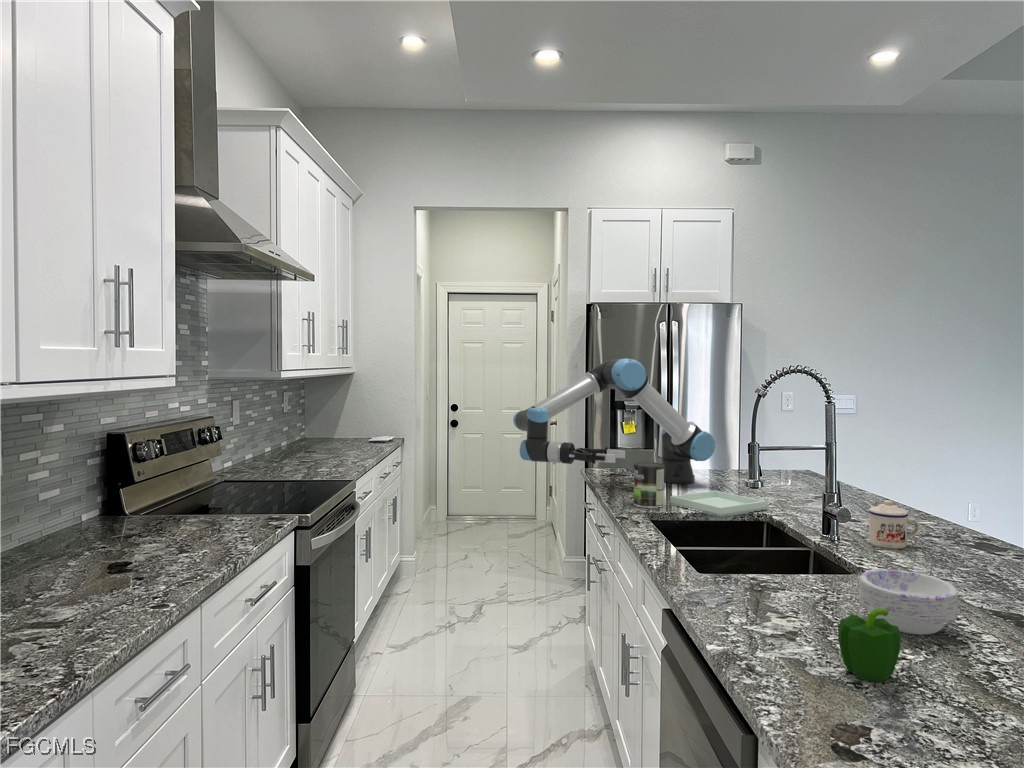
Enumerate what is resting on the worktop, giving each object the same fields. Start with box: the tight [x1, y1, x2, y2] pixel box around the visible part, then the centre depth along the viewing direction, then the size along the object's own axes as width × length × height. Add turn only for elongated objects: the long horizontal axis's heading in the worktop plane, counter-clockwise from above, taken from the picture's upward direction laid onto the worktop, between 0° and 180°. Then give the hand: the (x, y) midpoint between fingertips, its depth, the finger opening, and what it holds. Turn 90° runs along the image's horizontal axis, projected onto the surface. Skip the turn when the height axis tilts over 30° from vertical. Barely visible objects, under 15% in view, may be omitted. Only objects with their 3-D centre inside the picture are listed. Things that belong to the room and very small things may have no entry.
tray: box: [669, 490, 769, 518], centre depth 218 cm, size 22×22×3 cm
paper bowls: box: [858, 569, 959, 636], centre depth 117 cm, size 15×15×8 cm
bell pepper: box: [837, 608, 902, 683], centre depth 97 cm, size 8×8×10 cm
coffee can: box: [632, 461, 665, 509], centre depth 221 cm, size 10×10×14 cm
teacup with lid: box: [868, 499, 920, 550], centre depth 171 cm, size 12×9×12 cm
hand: (620, 456), depth 224 cm, fingers open, 13 cm apart
